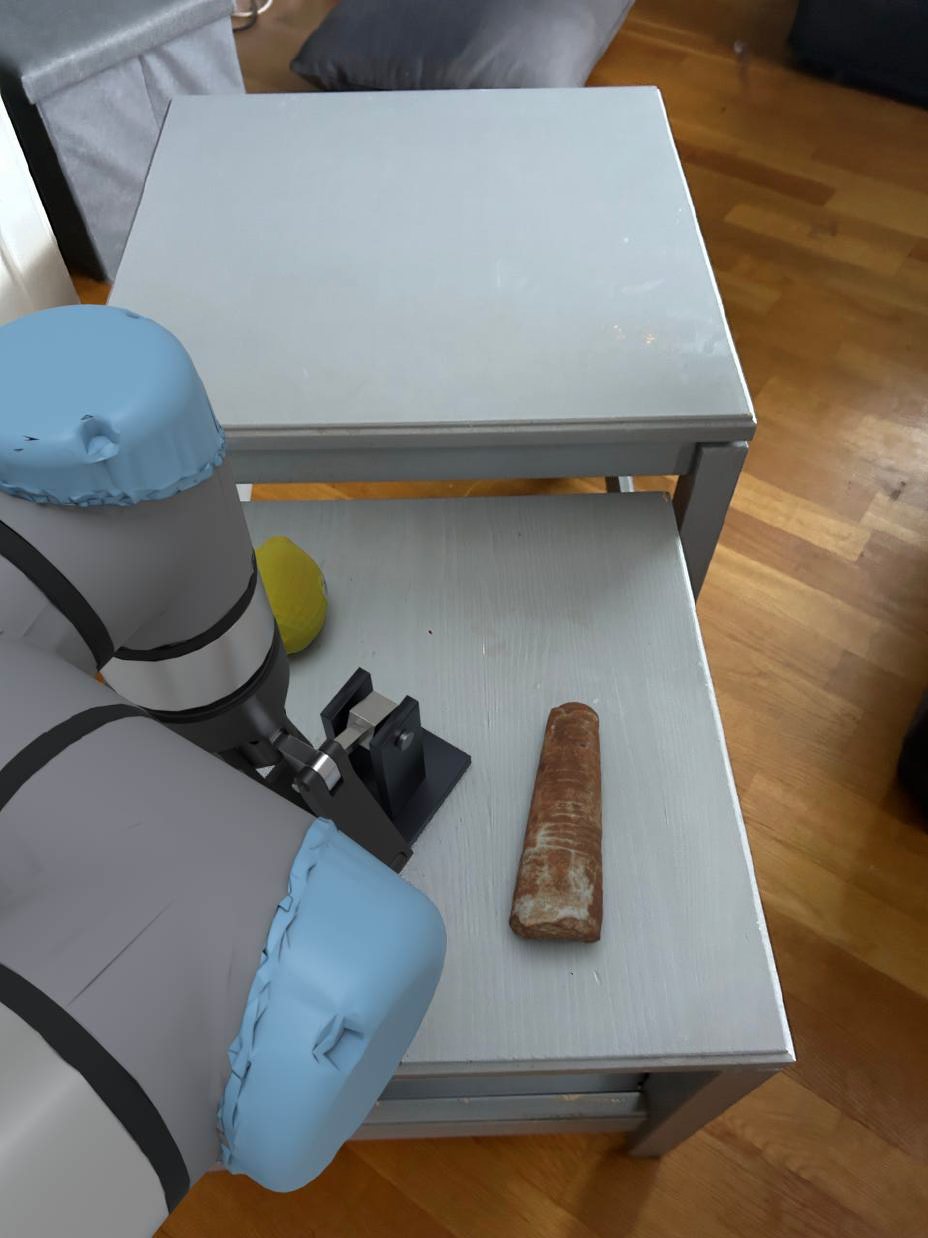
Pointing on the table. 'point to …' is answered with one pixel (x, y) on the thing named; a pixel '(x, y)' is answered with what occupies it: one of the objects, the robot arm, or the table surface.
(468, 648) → the table surface
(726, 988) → the table surface
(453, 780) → the bracket
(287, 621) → the lemon
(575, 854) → the bread
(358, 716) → the lever
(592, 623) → the table surface
